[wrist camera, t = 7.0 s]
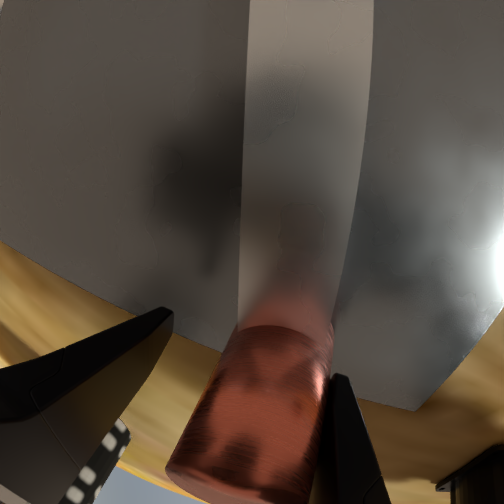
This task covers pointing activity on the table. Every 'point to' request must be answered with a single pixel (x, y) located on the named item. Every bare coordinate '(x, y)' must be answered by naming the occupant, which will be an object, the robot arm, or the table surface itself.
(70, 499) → the spotted tube
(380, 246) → the base
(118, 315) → the table surface
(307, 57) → the lever
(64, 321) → the table surface
